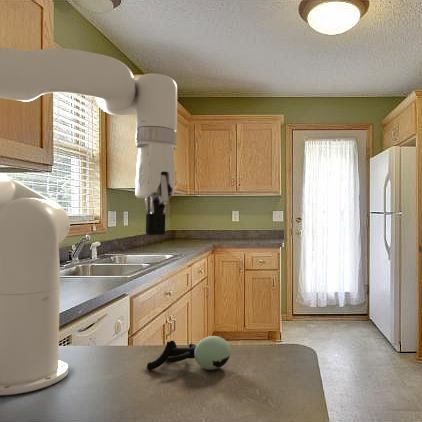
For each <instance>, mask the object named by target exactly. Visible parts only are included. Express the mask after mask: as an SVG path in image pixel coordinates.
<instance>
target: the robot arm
mask: <svg viewBox="0 0 422 422" xmlns="http://www.w3.org/2000/svg"><path fill="white" fill-rule="evenodd" d="M52 93H61V94H62V93H63V94H72V95H79V96H87V97H92V98H94V100H95V102H96V104H97V105H98V107H99V108H100V109H101V110H103V112H106V113H107V114H110V115H113V116H114V115H115V116H131V115H136V116H135V117H136V118H135V147H136V148H137V149H138V154H137V161H136V173H135V188H134V189H135V190H134V191H135V193H134V195H135V197H136V198H137V199H144V204H145V213H146V214H145V234H146V235H148V236H164V235H165V234H166V213H167V204H168V203H169V198H171V197H172V196H173V195H174V194H175V190H176V184H175V183H176V167H175V151H176V150H177V149H178V148H177V147H178V146H177V145H178V140H177V139H178V85H177V82H176V81H175V80H174V78H172V77H170V76H169V75H165V74H161V73H155V72H154V73H151V72H150V73H145V74H142V75H140V76H139V77H138V79H137V80H135V78H134V74H133V72H132V70H131V69H130V67H128V66H127V64H125V63H124V62H122V61H121V60H119V59H117V58H115V57H113V56H109V55H105V54H102V53H101V54H100V53H97V52H92V51H85V50H81V49H76V48H75V49H73V48H65V47H55V48H53V47H52V48H42V49H34V50H24V49H23V50H21V49H16V48H11V47H10V48H9V47H4V46H0V99H7V100H13V101H22V102H31V101H34V100H36V99H38V98H39V97H40V96H42V95H45V94H52ZM70 229H71V221H70V217H69V214H68V213H67V211H66V210H65V209H64V207H62V206H61V205H60V204H59V203H56V202H55V201H53V200H51V199H49V198H48V197H46V196H44V195H43V194H41V193H39V192H37V191H36V190H34V189H32V188H31V187H28V186H26V185H24V184H23V183H21V182H19V181H18V180H17V179H14V178H12V177H10V176H8V175H6V174H5V173H3V172H1V171H0V396H12V395H13V396H14V395H20V394H24V393H30V392H34V391H37V390H41V389H44V388H47V387H50V386H52V385H54V384H56V383H58V382H60V381H62V380H63V379H64V378H65V377H67V375H68V373H69V365H68V363H67V362H64V361H62V360H59V356H60V355H59V352H60V350H59V349H60V348H59V347H60V304H61V303H60V300H61V297H60V296H61V264H60V249H59V246H60V245H59V244H61V243H62V242H63V241H64V240H65V239H66V238H67V236H68V235H69V232H70Z"/></svg>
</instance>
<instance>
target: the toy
mask: <svg viewBox="0 0 422 422" xmlns="http://www.w3.org/2000/svg"><path fill="white" fill-rule="evenodd" d="M230 356H231V347H230V344H229V343H228V341H227V340H225V339H224V338H223V337H221V336H218V335H209V336H206V337H204V338H202V339H200V340H199V342H197V344H195V343H189V344H188V347H177V344H176V342H175V340H169V341H166V344H165V347H164V349H163V351H162V353H161V354H160V356H159V357H158V358H156V359H154V360H153V361H149V362H148V363H147V364H146V369H147V370H148V371H151V370H155V369H157V368H159V367H161V366H162V365H163V364H164V363H165V362H167V364H170V363H171V364H172V363H177V362H182V361H184V360H187V359H194V360H195V362H196V363H197V365H198V366H200V367H201V368H203V369H205V370H210V371H211V370H212V371H213V370H217V369H221V368H222V367H223V366H225V365H226V364H227V362H228V361H229V359H230Z"/></svg>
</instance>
